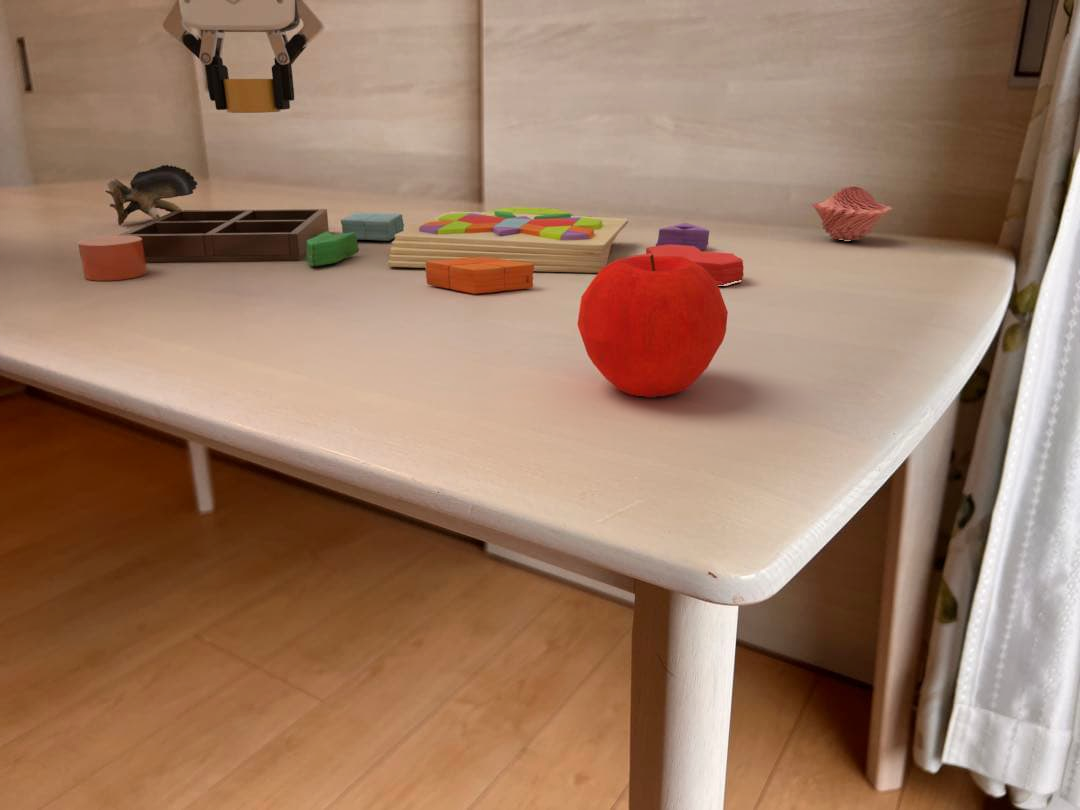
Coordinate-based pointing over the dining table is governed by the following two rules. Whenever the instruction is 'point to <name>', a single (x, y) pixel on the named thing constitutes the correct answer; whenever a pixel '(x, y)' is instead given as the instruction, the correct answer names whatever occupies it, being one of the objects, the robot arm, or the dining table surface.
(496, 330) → the dining table surface
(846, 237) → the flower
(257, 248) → the grid
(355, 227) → the pattern blocks set
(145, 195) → the bracket fungus on branch
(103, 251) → the cylinder
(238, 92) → the mustard yellow cylinder
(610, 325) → the apple
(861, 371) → the dining table surface
